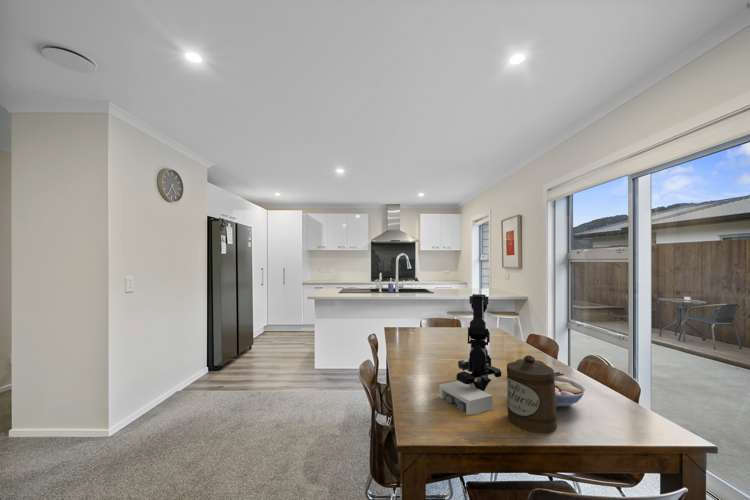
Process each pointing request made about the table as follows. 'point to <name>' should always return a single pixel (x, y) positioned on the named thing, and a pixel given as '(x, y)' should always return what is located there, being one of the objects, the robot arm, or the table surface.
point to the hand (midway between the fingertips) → (479, 396)
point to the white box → (467, 397)
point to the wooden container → (531, 396)
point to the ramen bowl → (567, 390)
